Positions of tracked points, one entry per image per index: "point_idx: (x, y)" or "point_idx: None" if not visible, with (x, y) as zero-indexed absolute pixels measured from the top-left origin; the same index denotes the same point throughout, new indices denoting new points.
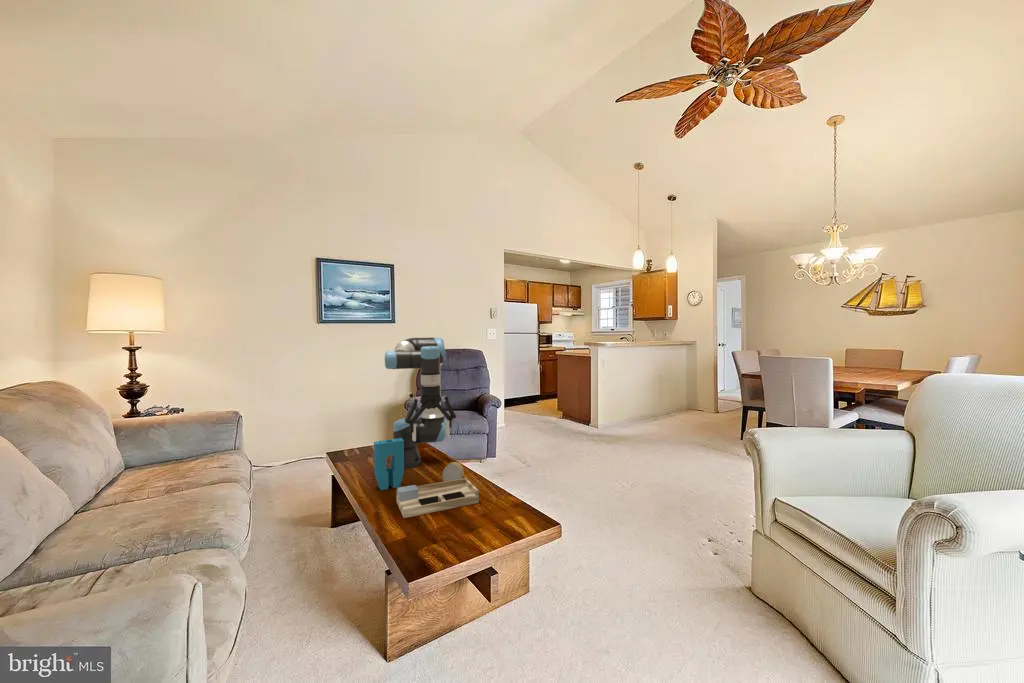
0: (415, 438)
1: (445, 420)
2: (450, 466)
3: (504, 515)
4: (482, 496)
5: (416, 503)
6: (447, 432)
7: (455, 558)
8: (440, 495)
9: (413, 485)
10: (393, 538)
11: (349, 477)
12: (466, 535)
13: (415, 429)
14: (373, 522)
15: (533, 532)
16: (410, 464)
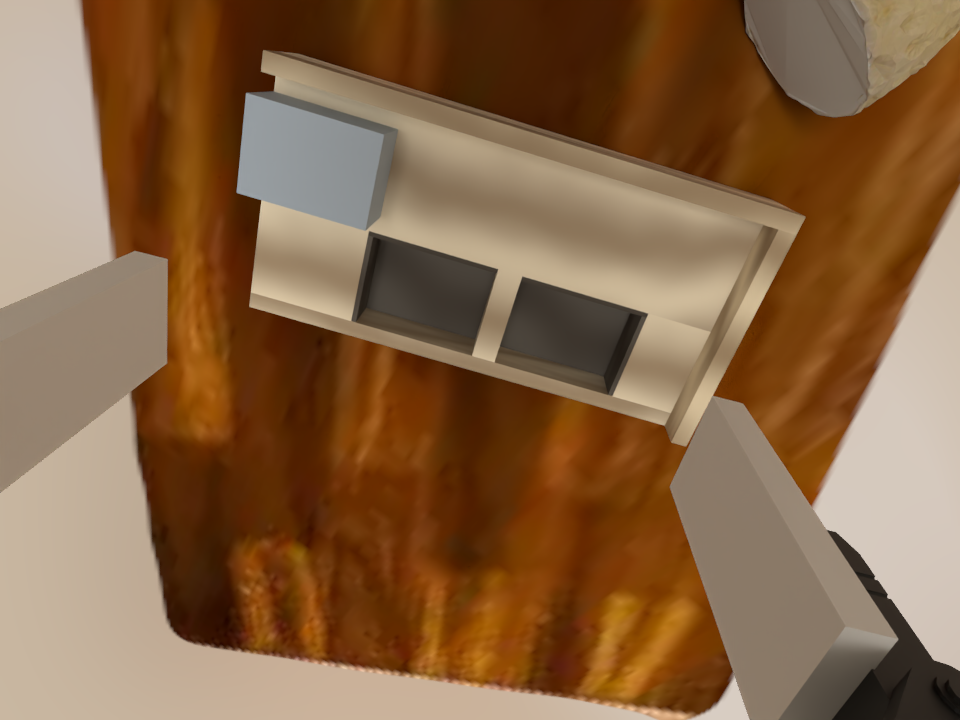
0: (135, 379)
1: (831, 609)
2: (838, 8)
3: (651, 567)
4: (749, 359)
5: (340, 281)
6: (688, 528)
7: (322, 641)
8: (511, 280)
9: (366, 139)
10: (177, 422)
11: None
12: (426, 576)
13: (17, 472)
14: (121, 225)
15: (621, 696)
16: None
